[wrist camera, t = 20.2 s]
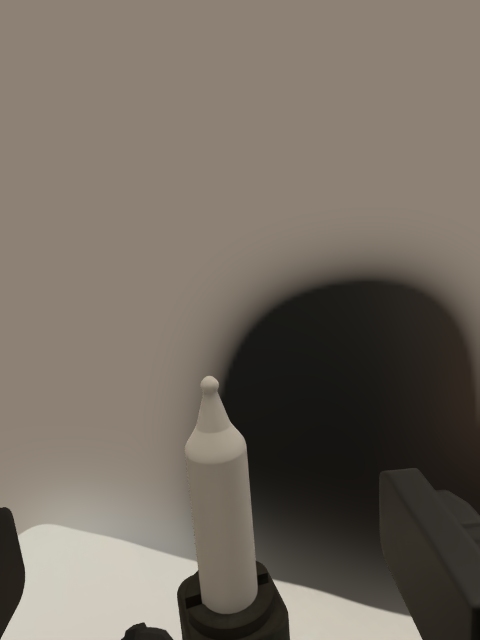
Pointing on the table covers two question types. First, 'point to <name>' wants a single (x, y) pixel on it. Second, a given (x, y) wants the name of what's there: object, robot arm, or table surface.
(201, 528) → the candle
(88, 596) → the table surface
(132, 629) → the microphone
